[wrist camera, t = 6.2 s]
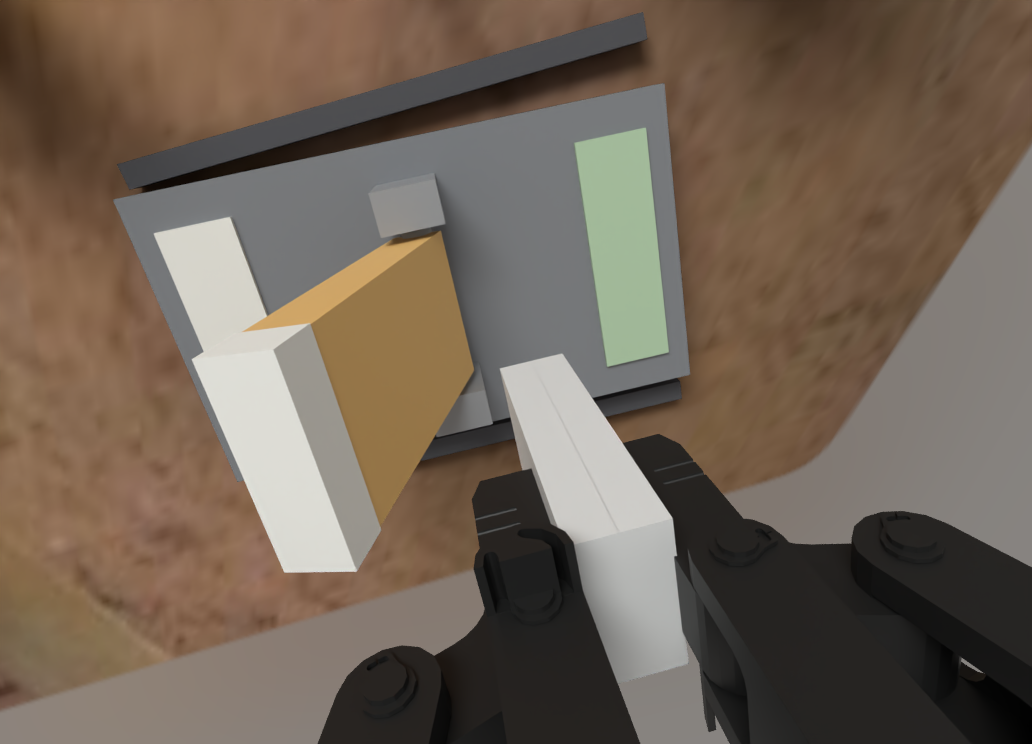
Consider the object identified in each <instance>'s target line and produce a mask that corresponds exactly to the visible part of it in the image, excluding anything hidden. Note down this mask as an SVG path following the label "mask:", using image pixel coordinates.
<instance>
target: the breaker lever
mask: <svg viewBox="0 0 1032 744" xmlns="http://www.w3.org/2000/svg"><path fill="white" fill-rule="evenodd" d="M401 236H402V237H398V238H393V239H392V240H390V241H388V242H387V243H385V244H384V245H382V246H380V247H379V248H377V249H375V250H374V251H372V252H371V253H369V254H367V255H366V256H364V257H362V258H361V259H359V260H358V261H356V262H354V263H353V264H351V265H350V266H348V267H346V268H345V269H343V270H341V271H340V272H338V273H337V274H335V275H333V276H332V277H330V278H328V279H327V280H325V281H324V282H322V283H320V284H319V285H317V286H315V287H314V288H312V289H311V290H309V291H307V292H306V293H304V294H302V295H301V296H299V297H298V298H296V299H294V300H293V301H291V302H290V303H288V304H286V305H285V306H283V307H281V308H280V309H278V310H277V311H275V312H273V313H272V314H270V315H268V316H267V317H265V318H264V319H262V320H260V321H259V322H257V323H255V324H254V325H252V326H251V327H249V328H247V329H246V330H244V331H242V332H239V333H234V334H232V335H231V336H229V337H227V338H226V339H224V340H223V341H221V342H219V343H218V344H216V345H214V346H213V347H211V348H209V349H208V350H206V351H204V352H203V353H201V354H200V355H198V356H196V357H195V358H193V359H192V362H193V364H194V366H195V368H196V371H197V373H198V375H199V378H200V380H201V382H202V384H203V387H204V389H205V391H206V394H207V396H208V398H209V401H210V403H211V405H212V407H213V410H214V412H215V414H216V417H217V419H218V421H219V423H220V426H221V428H222V430H223V433H224V435H225V437H226V440H227V442H228V444H229V446H230V449H231V451H232V453H233V456H234V458H235V460H236V462H237V465H238V467H239V469H240V472H241V474H242V476H243V479H244V481H245V483H246V485H247V488H248V490H249V492H250V495H251V497H252V499H253V501H254V504H255V506H256V508H257V511H258V513H259V515H260V518H261V520H262V522H263V524H264V527H265V529H266V531H267V534H268V536H269V538H270V540H271V543H272V545H273V547H274V550H275V552H276V554H277V557H278V559H279V561H280V563H281V566H282V568H283V570H284V572H355V571H357V570H358V569H359V567H360V565H361V564H362V562H363V560H364V558H365V557H366V555H367V553H368V552H369V550H370V548H371V547H372V545H373V543H374V542H375V540H376V538H377V537H378V535H379V533H380V532H381V528H380V527H381V525H382V523H383V522H384V520H385V518H386V517H387V515H388V513H389V512H390V510H391V508H392V507H393V505H394V503H395V502H396V500H397V498H398V497H399V495H400V493H401V492H402V490H403V488H404V487H405V485H406V483H407V482H408V480H409V478H410V477H411V475H412V473H413V472H414V470H415V468H416V467H417V465H418V463H419V462H420V460H421V458H422V457H423V455H424V453H425V452H426V450H427V448H428V447H429V445H430V443H431V442H432V440H433V438H434V437H435V435H436V433H437V432H438V430H439V428H440V427H441V425H442V423H443V422H444V420H445V418H446V417H447V415H448V413H449V412H450V410H451V408H452V407H453V405H454V403H455V402H456V400H457V398H458V397H459V395H460V393H461V392H462V390H463V388H464V387H465V385H466V383H467V382H468V380H469V378H470V377H471V375H472V373H473V372H474V367H473V363H472V359H471V354H470V350H469V346H468V342H467V338H466V334H465V329H464V325H463V321H462V317H461V313H460V309H459V304H458V300H457V296H456V292H455V288H454V284H453V279H452V275H451V271H450V267H449V263H448V259H447V255H446V250H445V246H444V242H443V238H442V234H441V231H435V232H432V229H431V227H430V228H425V229H420V230H416V231H411V232H407V233H402V234H401Z"/></svg>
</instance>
